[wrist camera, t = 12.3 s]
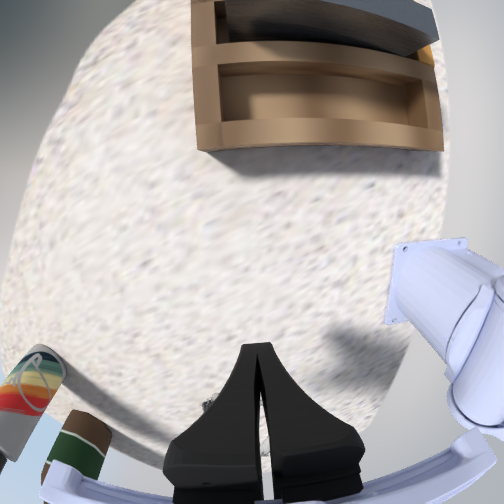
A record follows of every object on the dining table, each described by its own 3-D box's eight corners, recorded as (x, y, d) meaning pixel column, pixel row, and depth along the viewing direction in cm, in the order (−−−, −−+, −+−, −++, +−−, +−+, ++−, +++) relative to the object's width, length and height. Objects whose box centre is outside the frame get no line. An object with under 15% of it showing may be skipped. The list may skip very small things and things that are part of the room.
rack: (387, -13, 12) (404, -30, 9) (420, 150, 18) (448, 151, 14) (197, -27, 12) (191, -51, 9) (205, 152, 18) (196, 149, 14)
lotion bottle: (62, 351, 24) (-18, 479, 5) (71, 383, 25) (11, 501, 6) (29, 336, 23) (-54, 443, 4) (39, 369, 25) (-26, 471, 6)
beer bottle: (115, 444, 30) (82, 561, 7) (73, 426, 29) (30, 534, 6) (111, 421, 28) (67, 559, 5) (64, 400, 27) (7, 523, 4)
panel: (384, 41, 14) (431, 9, 8) (387, 66, 15) (439, 39, 8) (231, 19, 14) (226, -35, 7) (229, 45, 15) (223, -6, 8)
